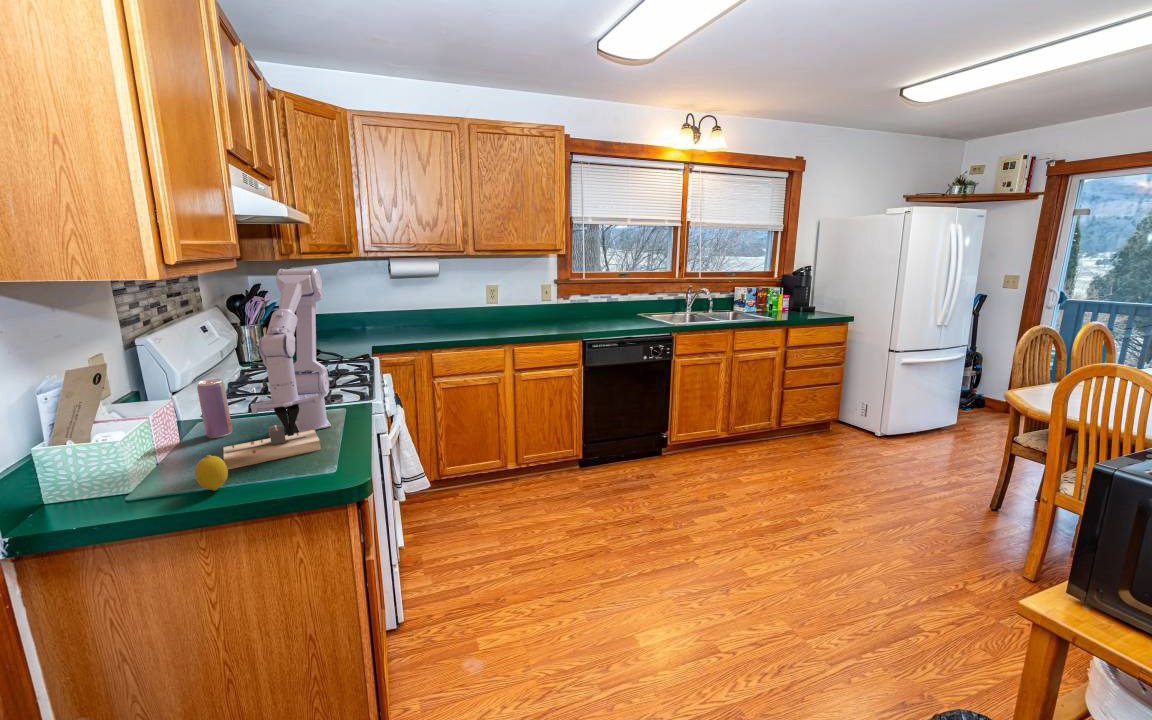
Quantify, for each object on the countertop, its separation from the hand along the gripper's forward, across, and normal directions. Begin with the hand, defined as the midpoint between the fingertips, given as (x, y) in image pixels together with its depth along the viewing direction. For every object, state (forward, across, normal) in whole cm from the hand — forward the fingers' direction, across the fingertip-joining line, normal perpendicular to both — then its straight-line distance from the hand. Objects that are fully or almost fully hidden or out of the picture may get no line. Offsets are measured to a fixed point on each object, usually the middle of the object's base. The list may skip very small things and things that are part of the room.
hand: (290, 434), depth 129 cm
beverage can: (+4, -15, +23) cm, 28 cm away
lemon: (+4, -16, -15) cm, 22 cm away
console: (+4, -4, 0) cm, 6 cm away
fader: (+1, -3, 0) cm, 3 cm away
